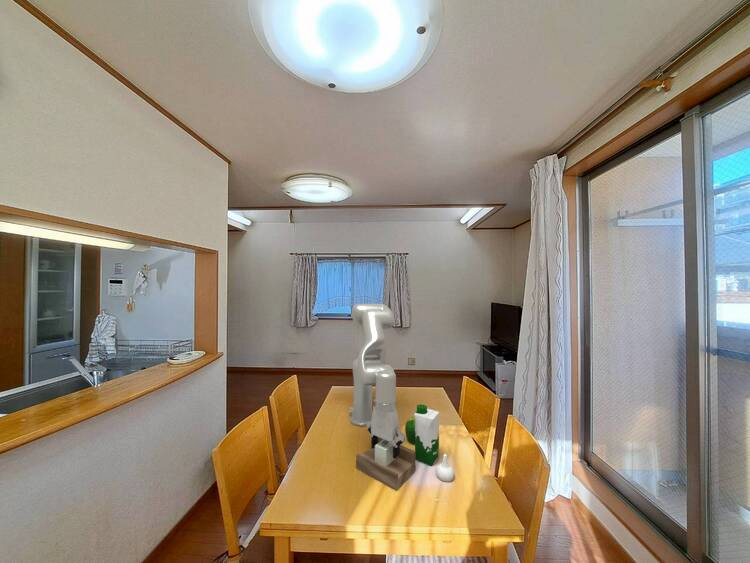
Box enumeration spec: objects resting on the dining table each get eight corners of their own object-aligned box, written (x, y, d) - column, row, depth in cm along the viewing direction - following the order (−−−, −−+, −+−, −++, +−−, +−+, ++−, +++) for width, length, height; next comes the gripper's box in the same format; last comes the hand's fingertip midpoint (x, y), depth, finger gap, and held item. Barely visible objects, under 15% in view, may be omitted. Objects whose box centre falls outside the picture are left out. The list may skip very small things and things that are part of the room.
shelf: (376, 452, 112) (377, 434, 112) (415, 470, 101) (415, 451, 101) (355, 468, 101) (356, 449, 102) (396, 490, 90) (396, 469, 91)
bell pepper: (423, 447, 115) (423, 423, 116) (404, 445, 117) (404, 421, 117) (424, 437, 124) (424, 414, 124) (406, 434, 125) (406, 412, 125)
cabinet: (374, 461, 100) (374, 442, 100) (384, 454, 105) (384, 435, 105) (385, 467, 97) (386, 447, 97) (395, 459, 102) (395, 440, 102)
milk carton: (420, 449, 114) (420, 401, 114) (441, 456, 109) (441, 406, 110) (411, 460, 106) (412, 409, 107) (433, 468, 102) (434, 414, 102)
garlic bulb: (435, 471, 101) (433, 450, 101) (451, 470, 101) (450, 449, 101) (438, 484, 95) (436, 460, 95) (456, 482, 94) (454, 459, 95)
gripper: (361, 402, 104) (360, 447, 103) (399, 415, 93) (399, 466, 93) (373, 396, 109) (372, 439, 109) (410, 408, 99) (410, 455, 98)
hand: (385, 451), depth 101 cm, fingers open, 9 cm apart
